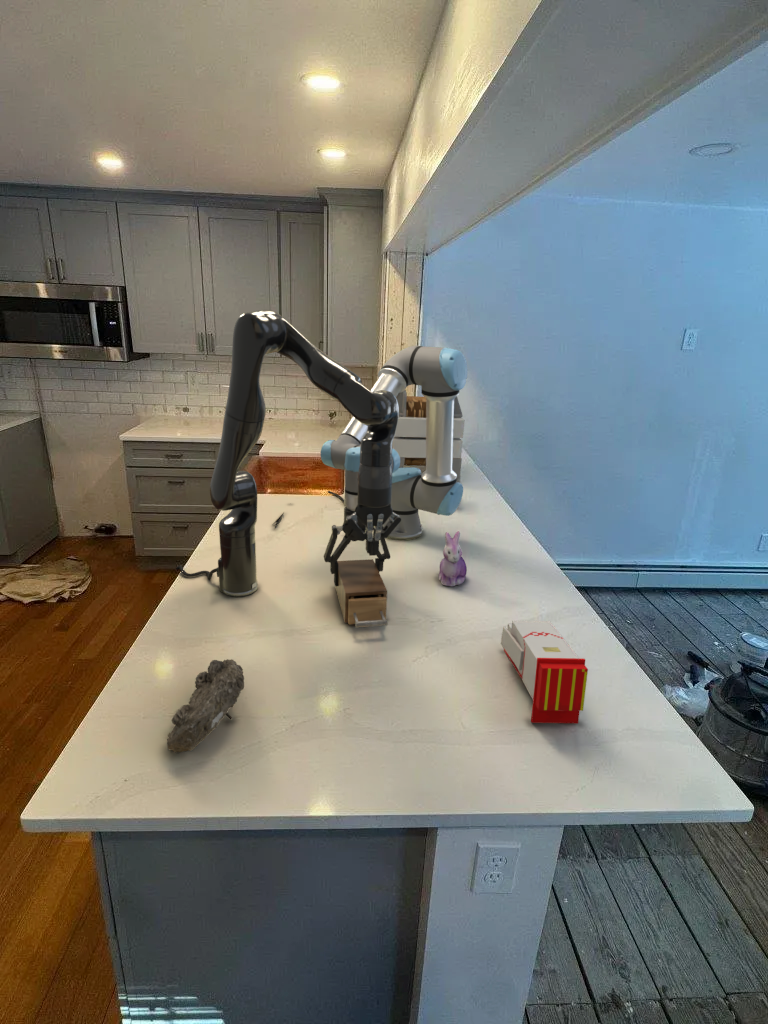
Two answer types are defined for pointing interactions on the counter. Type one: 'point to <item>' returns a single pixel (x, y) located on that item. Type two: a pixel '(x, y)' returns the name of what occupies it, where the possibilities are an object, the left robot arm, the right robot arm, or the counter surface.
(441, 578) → the figurine
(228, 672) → the fossil
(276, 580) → the counter surface
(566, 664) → the toy
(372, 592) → the cabinet
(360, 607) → the drawer
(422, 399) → the white slatted crate
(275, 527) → the feather
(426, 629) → the counter surface
